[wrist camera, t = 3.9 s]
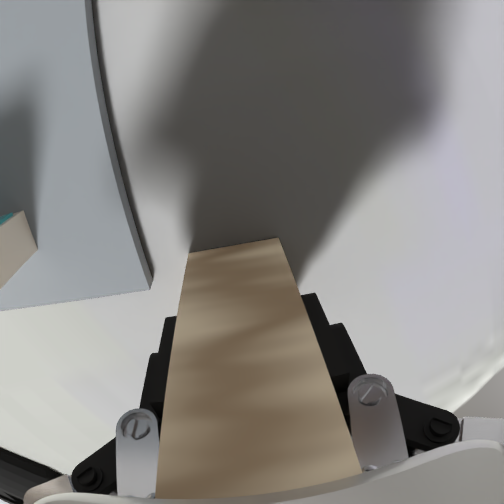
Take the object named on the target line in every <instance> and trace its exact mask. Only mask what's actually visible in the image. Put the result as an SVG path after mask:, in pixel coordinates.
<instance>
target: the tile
mask: <svg viewBox="0 0 504 504" xmlns="http://www.w3.org/2000/svg"><path fill="white" fill-rule="evenodd" d="M37 250H38V249H37V246H36V243H35V241H34V238H33V236H32V233H31V230H30V227H29V225H28V222H27V219H26V216H25V213H24V210H22V211H20V212H17V213H14V214H13V213H9V214H6V215H3V216H1V217H0V289H1V288H2V287H3V286H4V285H5V284H6V282H7V281H8V280H9V279H10V278H11V277H12V276H13V275H14V274H15V273H16V272H17V271H18V269H19V268H20V267H21V266H22V265H23V264H24V263H25V262H26V261H27V260H28V259H29V258H30V257H31V256H32V255H33V254H34V253H35V252H36V251H37Z"/></svg>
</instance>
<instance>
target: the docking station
mask: <svg viewBox="0 0 504 504" xmlns="http://www.w3.org/2000/svg"><path fill="white" fill-rule="evenodd" d="M60 476H62V475H60V474H58V473H56V472H54V471H53V470H51V469H50V468H48V467H46V466H43V465H41V464H38V463H36V462H33V461H31V460H28V459H26V458H23V457H21V456H18V455H16V454H13V453H11V452H9V451H6V450H4V449H2V448H0V499H1V500H3V501H5V502H8V503H10V504H24V502H23V499H24V495H25V493H26V492H27V491H28V490H29V489H31V488H33V487H35V486H38V485H41V484H43V483H46V482H48V481H51V480H53V479H55V478H58V477H60Z"/></svg>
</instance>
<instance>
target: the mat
mask: <svg viewBox="0 0 504 504" xmlns="http://www.w3.org/2000/svg"><path fill="white" fill-rule="evenodd" d="M22 210H24V213H25V216H26V219H27V222H28V225H29V227H30V230H31V233H32V236H33V238H34V241H35V243H36V246H37V249H38V250H37V251H36V252H35V253H34V254H33V255H32V256H31V257H30V258H29V259H28V260H27V261H26V262H25V263H24V264H23V265H22V266H21V267H20V268H19V269H18V271H17V272H16V273H15V274H14V275H13V276H12V277H11V278H10V279H9V280H8V281H7V282H6V284H5V285H4V286H3V287H2V288H1V289H0V311H5V310H12V309H20V308H27V307H35V306H42V305H50V304H57V303H64V302H71V301H78V300H85V299H92V298H99V297H105V296H112V295H119V294H125V293H132V292H138V291H145V290H150V288H151V285H152V282H153V279H152V276H151V273H150V270H149V267H148V264H147V261H146V258H145V255H144V252H143V249H142V245H141V242H140V239H139V236H138V232H137V229H136V226H135V222H134V219H133V216H132V212H131V209H130V205H129V201H128V198H127V194H126V190H125V187H124V183H123V179H122V175H121V171H120V167H119V163H118V159H117V155H116V151H115V146H114V142H113V137H112V133H111V128H110V123H109V118H108V113H107V108H106V103H105V98H104V92H103V87H102V81H101V75H100V68H99V62H98V55H97V48H96V40H95V32H94V23H93V13H92V2H91V0H0V217H1V216H3V215H6V214H9V213H13V214H14V213H17V212H20V211H22Z"/></svg>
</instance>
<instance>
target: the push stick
mask: <svg viewBox="0 0 504 504" xmlns="http://www.w3.org/2000/svg"><path fill="white" fill-rule="evenodd" d="M361 473H362V470H361V467H360V464H359V461H358V458H357V455H356V452H355V449H354V446H353V442H352V439H351V436H350V433H349V430H348V427H347V425H346V422H345V419H344V416H343V413H342V410H341V407H340V404H339V401H338V398H337V395H336V392H335V389H334V387H333V384H332V381H331V378H330V375H329V372H328V369H327V367H326V364H325V361H324V358H323V355H322V353H321V350H320V347H319V344H318V342H317V339H316V336H315V333H314V331H313V328H312V325H311V322H310V320H309V317H308V314H307V311H306V309H305V306H304V303H303V301H302V298H301V295H300V293H299V290H298V287H297V285H296V282H295V279H294V277H293V274H292V271H291V269H290V266H289V264H288V261H287V258H286V256H285V253H284V251H283V248H282V245H281V243H280V240H279V238H273V239H268V240H262V241H256V242H250V243H244V244H239V245H233V246H227V247H222V248H216V249H210V250H205V251H199V252H193V253H189V254H188V259H187V264H186V269H185V274H184V280H183V285H182V291H181V296H180V302H179V308H178V313H177V319H176V325H175V331H174V338H173V344H172V351H171V357H170V364H169V371H168V378H167V385H166V393H165V401H164V409H163V417H162V426H161V435H160V445H159V455H158V466H157V477H156V491H155V499H211V498H228V497H240V496H250V495H259V494H267V493H274V492H281V491H287V490H293V489H298V488H303V487H308V486H313V485H318V484H323V483H327V482H331V481H335V480H339V479H343V478H347V477H351V476H354V475H358V474H361Z"/></svg>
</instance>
